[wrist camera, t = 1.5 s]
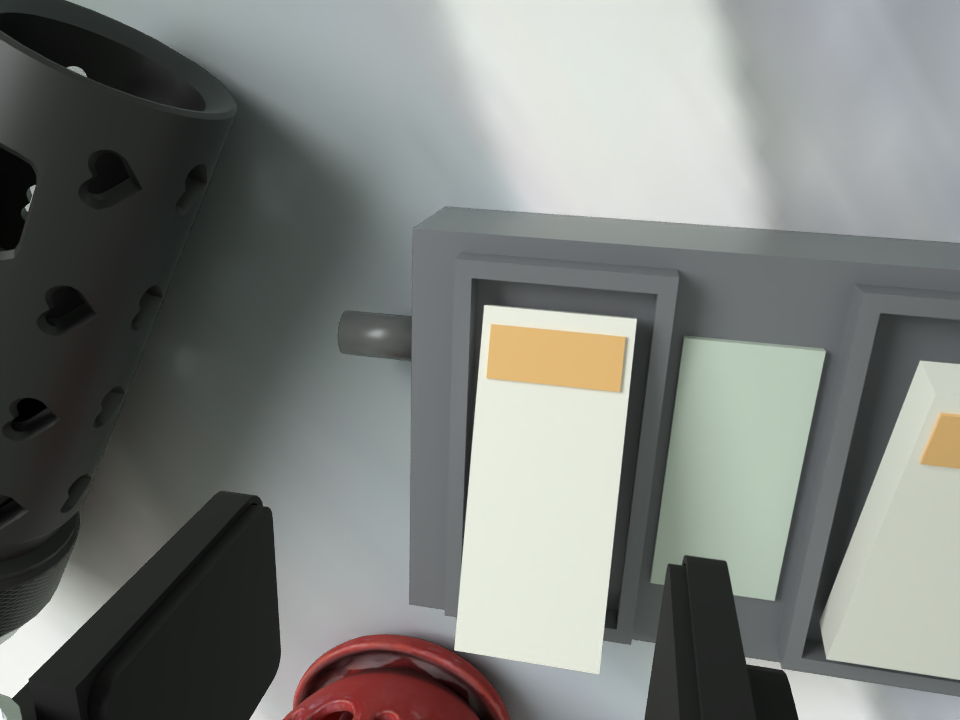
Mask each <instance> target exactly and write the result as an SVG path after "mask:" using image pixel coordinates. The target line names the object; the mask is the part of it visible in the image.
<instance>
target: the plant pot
mask: <svg viewBox="0 0 960 720" xmlns="http://www.w3.org/2000/svg"><path fill="white" fill-rule="evenodd" d="M283 720H510V718H509V715H508V712H507V709H506V707H505V705H504V703H503V702H502V700H501V698H500V696H499V695H498V693H497V692H496V690H495V689H494V687H493V686H492V685H491V684H490V682H489V681H488V680H487V679H486V678H485V677H484V676H483V675H482V674H481V673H480V672H479V671H478V670H477V669H476V668H475V667H473V666H472V665H471V664H470V663H469V662H467V661H466V660H464V659H463V658H461V657H460V656H458V655H457V654H455V653H453V652H452V651H450V650H448V649H446V648H443V647H441V646H439V645H436V644H434V643H431V642H428V641H425V640H422V639H417V638H413V637H408V636H401V635H388V634H384V635H370V636H363V637H359V638H356V639H353V640H350V641H347V642H345V643H343V644H340V645H338V646H336V647H335V648H333V649H331V650H329V651H328V652H326V653H325V654H323V655H322V656H321V657H320V658H318V659H317V660H316V661H315V662H314V663H313V664H312V665H311V666H310V667H309V669H308V670H307V671H306V672H305V674H304V676H303V677H302V679H301V681H300V683H299V685H298V687H297V690H296V693H295V696H294V702H293V710H292V711H291V712H290V713H289V714H288V715H287V716H286V717H285V718H284V719H283Z"/></svg>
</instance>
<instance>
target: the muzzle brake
mask: <svg viewBox="0 0 960 720" xmlns="http://www.w3.org/2000/svg"><path fill="white" fill-rule="evenodd" d="M69 66H77V67H79V68H81V69H83V70H84V72H85V73H86V75H87V77H88V78H87V77H85V76H82V75H80V74H78V73H76V72H74V71H72V70H69V69H67V67H69ZM236 113H237V105H236V103H235V101H234V99H233V97H232V95H231V93H230V92H229V91H228V90H227V88H226V87H225V86H224V85H223V84H222V83H221V82H220V81H219V80H217V79H216V78H215V77H214V76H213V75H212V74H210V73H209V72H207V71H206V70H205V69H203V68H202V67H201V66H199V65H198V64H196V63H194V62H193V61H191V60H189V59H188V58H186V57H184V56H183V55H181V54H179V53H178V52H176V51H174V50H173V49H171V48H169V47H168V46H166V45H164V44H163V43H161V42H159V41H158V40H156V39H154V38H152V37H150V36H148V35H146V34H144V33H142V32H140V31H138V30H136V29H134V28H132V27H130V26H127V25H125V24H123V23H121V22H119V21H117V20H114V19H112V18H110V17H107V16H105V15H102V14H100V13H98V12H95V11H93V10H90V9H88V8H85V7H82V6H79V5H77V4H74V3H71V2H69V1H66V0H0V644H2V643H3V642H5V641H6V640H7V639H9V638H10V637H11V636H13V635H14V634H15V632H16V631H17V630H18V629H19V628H20V627H21V626H23V625H24V624H25V623H27V622H28V621H29V620H31V619H32V618H34V617H35V616H36V615H37V614H38V613H39V612H40V611H41V610H42V609H43V608H44V607H45V605H46V604H47V603H48V602H49V601H50V600H51V598H52V596H53V594H54V592H55V591H56V589H57V587H58V585H59V582H60V580H61V577H62V575H63V572H64V570H65V567H66V565H67V562H68V560H69V557H70V555H71V552H72V549H73V547H74V544H75V542H76V539H77V535H78V531H79V527H80V517H79V509H80V507H81V506H82V504H83V502H84V501H85V499H86V497H87V494H88V491H89V488H90V486H91V483H92V481H93V478H94V476H95V473H96V470H97V468H98V465H99V463H100V460H101V458H102V455H103V453H104V450H105V447H106V445H107V442H108V440H109V437H110V435H111V432H112V430H113V427H114V424H115V422H116V419H117V417H118V414H119V412H120V409H121V407H122V404H123V402H124V399H125V396H126V394H127V391H128V389H129V386H130V384H131V381H132V379H133V376H134V373H135V371H136V368H137V366H138V363H139V361H140V358H141V356H142V353H143V350H144V348H145V345H146V343H147V340H148V338H149V335H150V333H151V330H152V327H153V325H154V322H155V320H156V317H157V315H158V312H159V310H160V307H161V304H162V302H163V299H164V297H165V294H166V292H167V289H168V287H169V284H170V282H171V279H172V276H173V274H174V271H175V269H176V266H177V264H178V261H179V259H180V256H181V253H182V251H183V248H184V246H185V243H186V241H187V238H188V236H189V233H190V230H191V228H192V225H193V223H194V220H195V218H196V215H197V213H198V210H199V207H200V205H201V202H202V200H203V197H204V195H205V192H206V190H207V187H208V184H209V182H210V179H211V177H212V174H213V172H214V169H215V167H216V164H217V161H218V159H219V156H220V154H221V151H222V149H223V146H224V144H225V141H226V139H227V136H228V133H229V131H230V128H231V126H232V123H233V121H234V118H235V116H236ZM33 185H36V187H35V191H34V194H33V197H32V194H31V191H30V187H31V186H33ZM31 197H32V201H31V204H30V207H29V211H28V212H27V211H26V209H25V206H26V205H27V204H29V203H30V200H31Z"/></svg>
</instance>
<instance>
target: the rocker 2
mask: <svg viewBox="0 0 960 720" xmlns="http://www.w3.org/2000/svg"><path fill="white" fill-rule="evenodd" d="M819 623H820V628H821V633H822V639H823V644H824V649H825V654H826V659H828V660H834V661H841V662H847V663H854V664H860V665H867V666H873V667H879V668H886V669H892V670H899V671H905V672H912V673H918V674H925V675H931V676H938V677H944V678H951V679H957V680H960V364H952V363H941V362H931V361H920V362H919V365H918V367H917V370H916V372H915V375H914V378H913V380H912V383H911V385H910V388H909V391H908V393H907V396H906V398H905V401H904V404H903V406H902V409H901V411H900V414H899V417H898V419H897V422H896V424H895V427H894V430H893V432H892V435H891V437H890V440H889V442H888V445H887V448H886V450H885V453H884V455H883V458H882V461H881V463H880V466H879V468H878V471H877V474H876V476H875V479H874V481H873V484H872V487H871V489H870V492H869V494H868V497H867V500H866V502H865V505H864V507H863V510H862V513H861V515H860V518H859V520H858V523H857V526H856V528H855V531H854V533H853V536H852V539H851V541H850V544H849V546H848V549H847V551H846V554H845V557H844V559H843V562H842V564H841V567H840V570H839V572H838V575H837V577H836V580H835V583H834V585H833V588H832V590H831V593H830V596H829V598H828V601H827V603H826V606H825V609H824V611H823V614H822V616H821V619H820V622H819Z"/></svg>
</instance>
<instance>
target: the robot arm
mask: <svg viewBox="0 0 960 720" xmlns="http://www.w3.org/2000/svg"><path fill="white" fill-rule="evenodd" d="M280 657H281V646H280V629H279V613H278V597H277V581H276V564H275V548H274V532H273V517H272V512H271V509H270V508H268V507H263V505H262V501H261V499H260V498H259V497H258V496H255V495H248V494H241V493H233V492H226V491H220V492H218V493H217V494H216V495H214V496H213V497H212V498H211V499H210V500H209V501H208V502H207V503H206V504H205V505H204V506H203V507H202V508H201V509H200V510H199V511H198V512H197V513H196V514H195V515H194V516H193V517H192V518H191V519H190V520H189V521H188V522H187V523H186V524H185V525H184V526H183V527H182V528H181V529H180V530H179V531H178V532H177V533H176V534H175V535H174V536H173V537H172V538H171V539H170V540H169V541H168V542H167V543H166V544H165V545H164V546H163V547H162V548H161V549H160V550H159V551H158V552H157V553H156V554H155V555H154V556H153V557H152V558H151V559H150V560H149V561H148V562H147V563H146V564H145V565H144V566H143V567H142V568H141V569H140V570H139V571H138V572H137V573H136V574H135V575H134V576H133V577H132V578H130V579H129V580H128V581H127V582H126V583H125V584H124V585H123V586H122V587H121V588H120V589H119V590H118V591H117V592H116V593H115V594H114V595H113V596H112V597H111V598H110V599H109V600H108V601H107V602H106V603H105V604H104V605H103V606H102V607H101V608H100V609H99V610H98V611H97V612H96V613H95V614H94V615H93V616H92V617H91V618H90V619H89V620H88V621H87V622H86V623H85V624H84V625H83V626H82V627H81V628H80V629H79V630H78V631H77V632H76V633H75V634H74V635H73V636H72V637H71V638H70V639H69V640H68V641H67V642H66V643H65V644H64V645H63V646H62V647H61V648H60V649H59V650H58V651H57V652H56V653H55V654H54V655H53V656H52V657H51V658H50V659H49V660H48V661H47V662H46V663H44V664H43V665H42V666H41V667H40V668H39V669H38V670H37V671H36V672H35V673H34V674H33V675H32V676H31V677H30V678H29V682H28V683H27V684H26V685H25V686H24V687H23V688H22V689H21V690H20V691H19V692H18V693H17V694H16V695H15V696H14V697H13V698H12V699H11V698H10V697H8V696H5V695H2V694H0V720H249V719H250V717H251V716H252V714H253V712H254V711H255V709H256V707H257V706H258V704H259V702H260V701H261V699H262V697H263V696H264V694H265V693H266V691H267V689H268V688H269V686H270V684H271V683H272V681H273V679H274V677H275V675H276V673H277V670H278V667H279V663H280ZM645 720H799V719H798V715H797V711H796V707H795V703H794V700H793V696H792V692H791V688H790V684H789V681H788V678H787V675H786V674H785V672H784V671H783V670H778V669H772V668H765V667H759V666H753V665H746V661H745V655H744V650H743V645H742V639H741V634H740V629H739V623H738V618H737V613H736V607H735V602H734V596H733V591H732V586H731V580H730V575H729V570H728V565H727V562H726V561H725V560H718V559H710V558H703V557H696V556H689V555H685V556H684V558H683V561H682V565H676V564H669V563H668V565H667V569H666V576H665V582H664V589H663V596H662V603H661V610H660V617H659V624H658V630H657V637H656V644H655V651H654V658H653V665H652V672H651V678H650V685H649V692H648V699H647V706H646V713H645Z"/></svg>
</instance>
